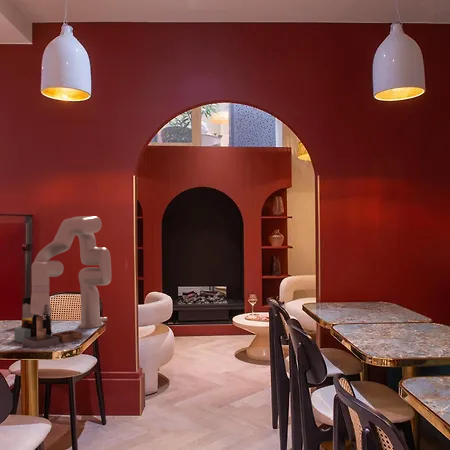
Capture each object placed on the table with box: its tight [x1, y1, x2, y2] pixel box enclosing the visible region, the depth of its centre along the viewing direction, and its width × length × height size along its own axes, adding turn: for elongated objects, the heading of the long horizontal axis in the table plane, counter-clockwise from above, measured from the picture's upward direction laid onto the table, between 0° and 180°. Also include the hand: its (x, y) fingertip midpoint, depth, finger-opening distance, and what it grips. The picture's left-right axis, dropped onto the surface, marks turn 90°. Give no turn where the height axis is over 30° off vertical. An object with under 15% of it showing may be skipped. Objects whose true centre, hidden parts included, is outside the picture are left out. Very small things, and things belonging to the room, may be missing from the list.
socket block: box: [51, 330, 83, 344], centre depth 232 cm, size 10×10×3 cm
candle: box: [21, 317, 53, 337], centre depth 235 cm, size 10×10×10 cm
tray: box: [23, 334, 60, 349], centre depth 223 cm, size 11×11×3 cm
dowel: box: [37, 315, 46, 341], centre depth 223 cm, size 4×4×12 cm
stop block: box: [13, 326, 31, 344], centre depth 230 cm, size 3×10×6 cm, turn 48°
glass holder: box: [22, 297, 32, 319], centre depth 274 cm, size 9×14×15 cm, turn 167°
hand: (41, 327), depth 223 cm, fingers open, 9 cm apart
